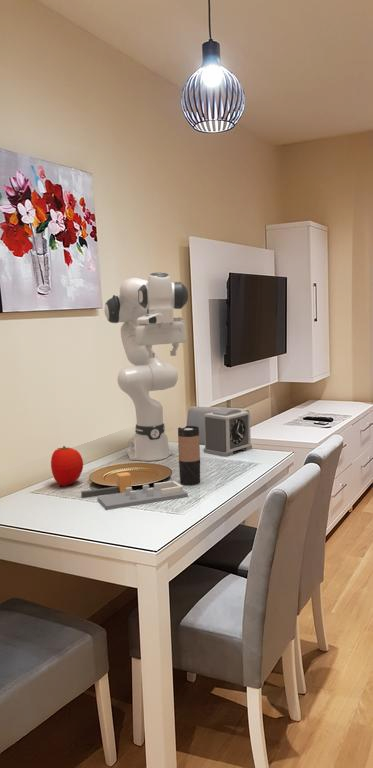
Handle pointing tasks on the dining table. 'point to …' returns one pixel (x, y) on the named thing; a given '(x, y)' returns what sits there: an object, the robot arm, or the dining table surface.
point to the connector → (122, 484)
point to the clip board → (143, 495)
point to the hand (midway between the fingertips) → (162, 356)
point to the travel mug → (189, 455)
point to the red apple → (66, 465)
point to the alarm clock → (227, 431)
